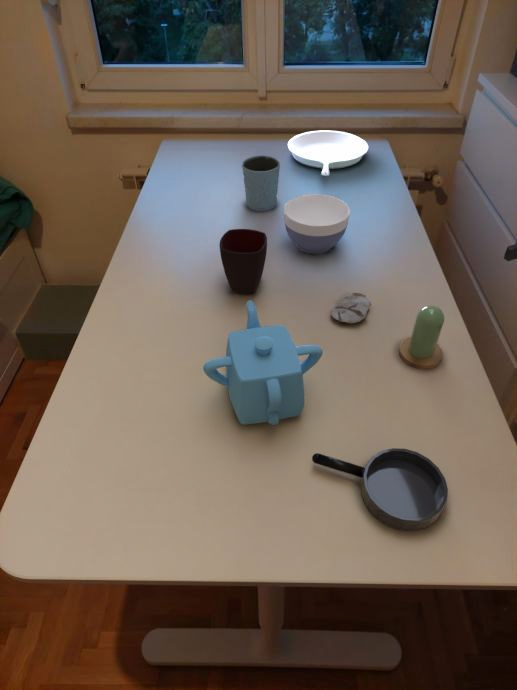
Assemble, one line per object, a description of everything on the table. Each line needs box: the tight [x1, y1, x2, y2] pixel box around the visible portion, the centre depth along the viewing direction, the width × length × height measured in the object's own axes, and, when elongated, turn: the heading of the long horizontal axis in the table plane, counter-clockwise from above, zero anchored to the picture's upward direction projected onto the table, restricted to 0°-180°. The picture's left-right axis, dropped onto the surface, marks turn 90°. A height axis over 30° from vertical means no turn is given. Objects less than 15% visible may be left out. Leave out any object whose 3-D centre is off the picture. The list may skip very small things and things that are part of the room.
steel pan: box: [360, 447, 449, 532], centre depth 75 cm, size 12×12×3 cm
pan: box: [287, 129, 369, 177], centre depth 161 cm, size 26×39×5 cm
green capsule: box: [408, 304, 445, 359], centre depth 93 cm, size 5×5×10 cm
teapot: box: [202, 300, 323, 426], centre depth 86 cm, size 18×16×14 cm
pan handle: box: [311, 452, 365, 479], centre depth 77 cm, size 9×2×2 cm, turn 69°
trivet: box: [398, 337, 443, 370], centre depth 97 cm, size 8×8×1 cm
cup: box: [218, 228, 268, 295], centre depth 111 cm, size 10×14×12 cm
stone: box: [330, 292, 372, 324], centre depth 106 cm, size 10×7×3 cm
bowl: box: [283, 193, 351, 255], centre depth 124 cm, size 16×16×10 cm
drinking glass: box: [241, 155, 281, 212], centre depth 138 cm, size 10×10×12 cm
